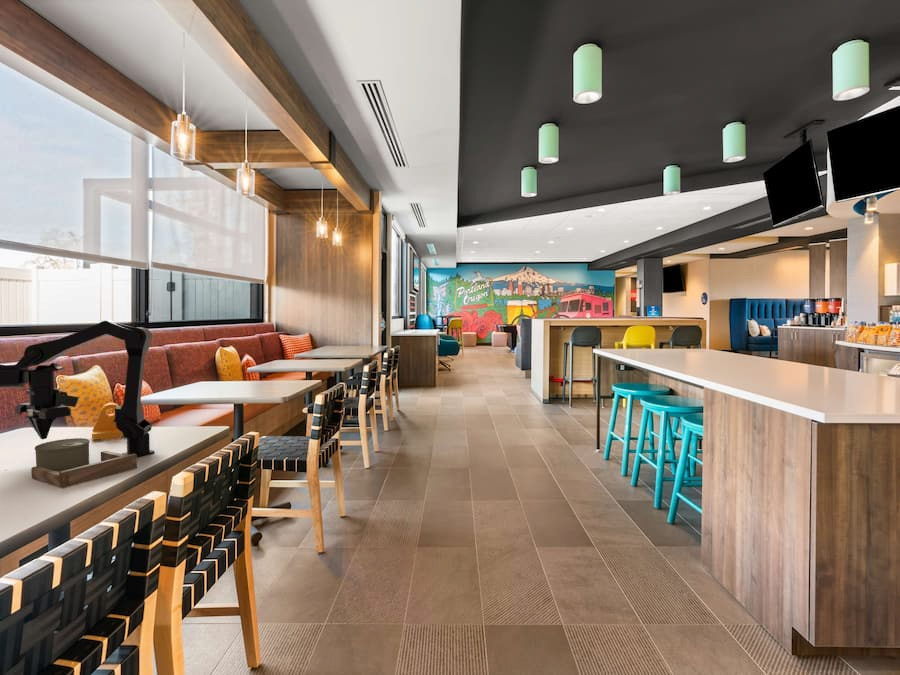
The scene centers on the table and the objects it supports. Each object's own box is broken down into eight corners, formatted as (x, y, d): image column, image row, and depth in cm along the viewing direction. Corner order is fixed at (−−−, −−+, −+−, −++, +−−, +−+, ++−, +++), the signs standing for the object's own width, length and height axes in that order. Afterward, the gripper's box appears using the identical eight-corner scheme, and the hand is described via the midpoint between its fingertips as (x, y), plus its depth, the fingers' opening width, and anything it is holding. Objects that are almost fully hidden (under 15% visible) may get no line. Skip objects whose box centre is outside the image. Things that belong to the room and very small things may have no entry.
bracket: (91, 442, 159) (90, 407, 159) (92, 437, 165) (91, 404, 165) (129, 437, 165) (129, 404, 165) (129, 433, 171) (128, 401, 171)
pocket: (137, 468, 132) (136, 454, 132) (62, 488, 116) (61, 472, 116) (106, 460, 138) (105, 447, 138) (31, 478, 123) (31, 463, 122)
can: (61, 460, 138) (61, 437, 138) (100, 461, 138) (100, 438, 138) (23, 474, 126) (22, 449, 126) (65, 474, 126) (64, 449, 126)
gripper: (90, 384, 139) (92, 436, 140) (58, 381, 148) (59, 429, 148) (45, 390, 129) (47, 445, 130) (13, 385, 138) (15, 437, 138)
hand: (43, 438), depth 137 cm, fingers closed
